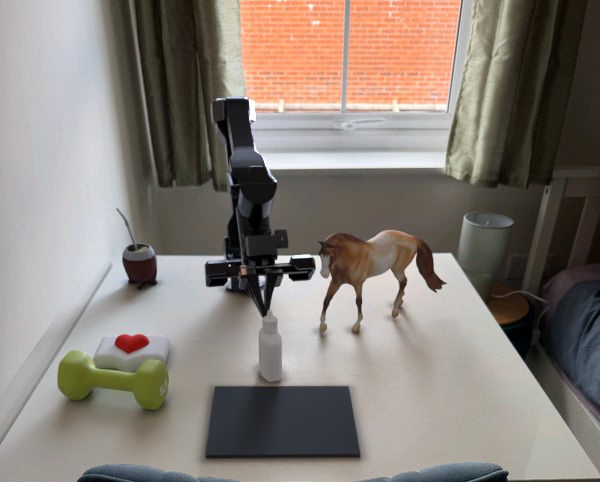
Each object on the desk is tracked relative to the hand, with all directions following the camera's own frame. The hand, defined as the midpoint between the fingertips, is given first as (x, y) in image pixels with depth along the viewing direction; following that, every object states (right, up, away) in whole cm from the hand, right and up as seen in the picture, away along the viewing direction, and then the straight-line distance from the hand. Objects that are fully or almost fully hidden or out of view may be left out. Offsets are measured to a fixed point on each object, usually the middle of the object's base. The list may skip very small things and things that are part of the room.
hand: (265, 318), depth 102 cm
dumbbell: (-23, -14, -6) cm, 28 cm away
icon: (-23, -7, +3) cm, 25 cm away
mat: (+3, -17, -10) cm, 20 cm away
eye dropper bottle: (+1, -10, 0) cm, 10 cm away
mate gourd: (-29, +12, +28) cm, 42 cm away
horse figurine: (+22, 0, +15) cm, 26 cm away
